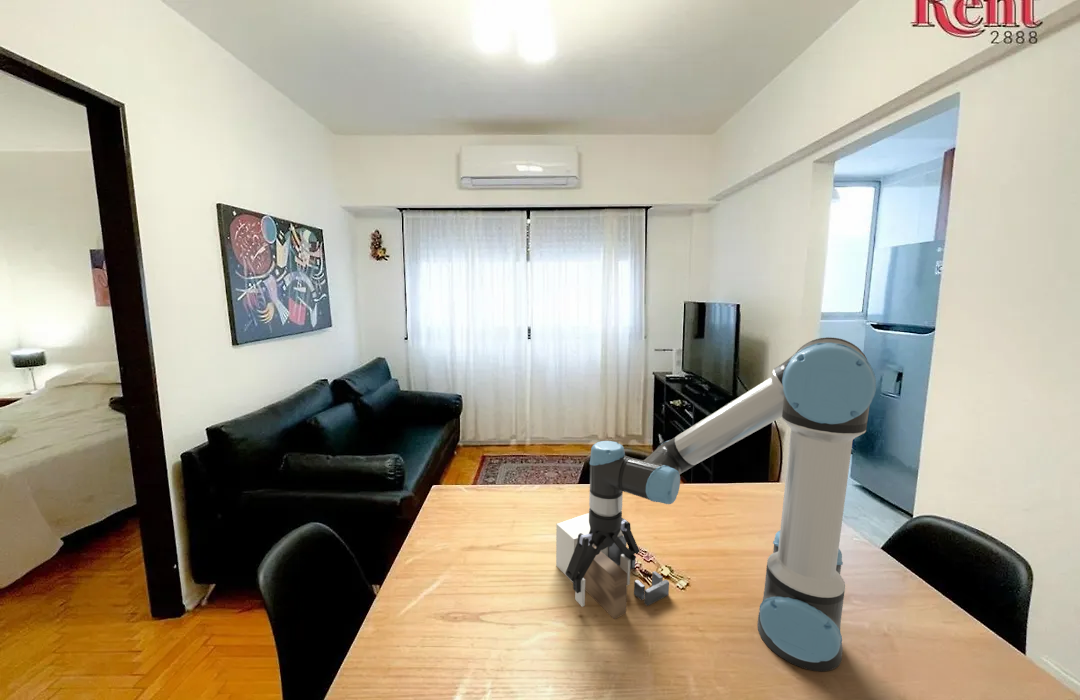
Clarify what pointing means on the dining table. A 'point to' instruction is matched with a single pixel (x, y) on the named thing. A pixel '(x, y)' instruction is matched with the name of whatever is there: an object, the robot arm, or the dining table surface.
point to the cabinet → (571, 539)
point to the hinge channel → (652, 593)
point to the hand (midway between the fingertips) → (603, 591)
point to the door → (607, 584)
